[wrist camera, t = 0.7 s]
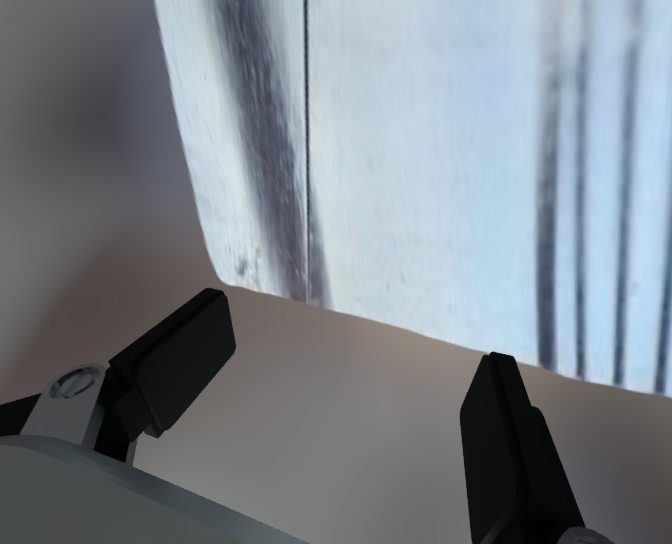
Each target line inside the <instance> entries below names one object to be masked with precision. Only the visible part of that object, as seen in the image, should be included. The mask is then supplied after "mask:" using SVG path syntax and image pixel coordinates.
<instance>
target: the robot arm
mask: <svg viewBox="0 0 672 544" xmlns="http://www.w3.org/2000/svg"><path fill="white" fill-rule="evenodd" d="M235 349H236V343H235V338H234V333H233V327H232V322H231V316H230V310H229V305H228V300H227V297H226V296H225V295H224V292H223V291H221V290H217V289H213V288H206V289H204V290H203V291H201V292H200V293H199V294H197V295H196V296H195V297H194V298H192V299H191V300H189V301H188V302H187V303H185V304H184V305H183V306H181V307H180V308H179V309H177V310H176V311H175V312H173V313H172V314H171V315H169V316H168V317H167V318H165V319H164V320H163V321H161V322H160V323H159V324H157V325H156V326H155V327H153V328H152V329H151V330H149V331H148V332H147V333H145V334H144V335H143V336H141V337H140V338H138V339H137V340H136V341H134V342H133V343H132V344H130V345H129V346H128V347H126V348H125V349H124V350H123V351H121V352H120V353H118V354H117V355H116V356H114V357H113V358H112V359H110V360H109V361H108V362H109V364H110V366H111V367H109V368H108V369H107V370H105V368H104V366H102V365H100V364H94V363H90V364H83V365H80V366H76V367H74V368H71V369H69V370H67V371H65V372H63V373H62V374H60V375H58V376H57V377H55V378H54V379H53V380H52V381H51V382H50V383H49V384H48V385H47V386H46V388H45V389H44V390H43V392H42V393H40V394H36V395H33V396H30V397H26V398H23V399H20V400H16V401H12V402H9V403H5V404H2V405H0V544H311V543H308V542H306V541H304V540H302V539H299V538H297V537H295V536H293V535H290V534H288V533H286V532H283V531H281V530H279V529H276V528H274V527H272V526H269V525H267V524H265V523H262V522H260V521H258V520H256V519H253V518H251V517H249V516H246V515H244V514H242V513H239V512H237V511H235V510H232V509H230V508H228V507H226V506H223V505H221V504H219V503H216V502H214V501H212V500H209V499H207V498H205V497H202V496H200V495H198V494H196V493H193V492H191V491H189V490H186V489H184V488H182V487H179V486H177V485H174V484H172V483H169V482H167V481H165V480H163V479H160V478H158V477H156V476H153V475H151V474H149V473H146V472H144V471H142V470H139V469H137V468H135V467H133V461H134V456H135V450H136V445H137V439H138V436H139V435H140V434H141V433H142V432H143V431H144V432H145V434H147V435H150V436H153V437H155V438H159V437H160V436H161V434H162V433H163V432H164V431H165V430H168V429H170V428H171V427H172V426H173V425H174V424H175V423H176V421H177V420H178V419H179V418H180V417H181V415H182V414H183V413H184V412H185V411H186V409H187V408H188V407H189V406H190V405H191V404H192V402H193V401H194V400H195V399H196V397H197V396H198V395H199V394H200V393H201V391H202V390H203V389H204V388H205V387H206V386H207V385H208V383H209V382H210V381H211V380H212V379H213V377H214V376H215V375H216V374H217V373H218V372H219V370H220V369H221V368H222V367H223V366H224V364H225V363H226V362H227V361H228V360H229V358H230V357H231V356H232V355H233V354H234V352H235ZM460 425H461V435H462V446H463V456H464V467H465V477H466V487H467V498H468V509H469V518H470V529H471V539H472V543H473V544H615V543H613V542H612V541H611V540H609V539H608V538H607V537H605V536H603V535H601V534H600V533H598V532H596V531H594V530H592V529H588V528H586V527H585V524H584V521H583V519H582V516H581V514H580V511H579V508H578V506H577V503H576V500H575V498H574V495H573V492H572V490H571V487H570V484H569V482H568V479H567V477H566V474H565V471H564V469H563V466H562V463H561V461H560V458H559V456H558V453H557V450H556V448H555V445H554V442H553V440H552V437H551V434H550V432H549V429H548V426H547V424H546V421H545V419H544V416H543V414H542V412H541V411H540V410H539V409H538V408H537V407H534V406H531V403H530V400H529V398H528V395H527V392H526V389H525V386H524V383H523V380H522V378H521V375H520V372H519V369H518V367H517V363H516V361H515V358H514V357H513V356H511V355H506V354H502V353H497V352H491V353H490V355H483V357H482V359H481V362H480V364H479V366H478V369H477V371H476V374H475V376H474V378H473V380H472V383H471V385H470V388H469V390H468V392H467V395H466V397H465V400H464V402H463V404H462V406H461V410H460Z"/></svg>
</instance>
